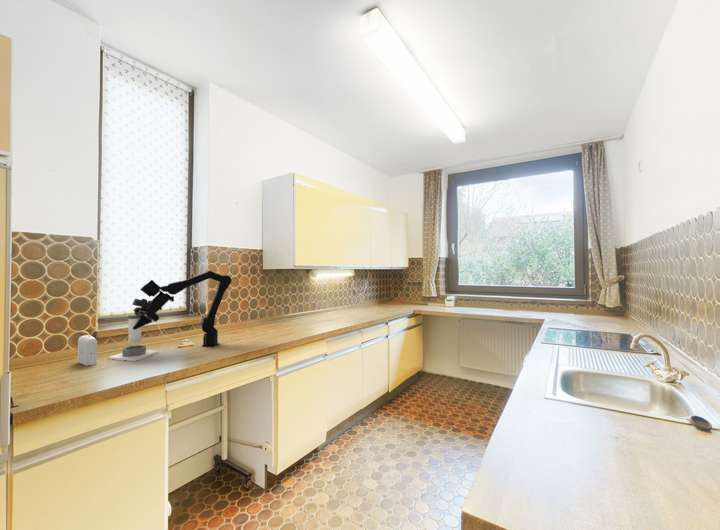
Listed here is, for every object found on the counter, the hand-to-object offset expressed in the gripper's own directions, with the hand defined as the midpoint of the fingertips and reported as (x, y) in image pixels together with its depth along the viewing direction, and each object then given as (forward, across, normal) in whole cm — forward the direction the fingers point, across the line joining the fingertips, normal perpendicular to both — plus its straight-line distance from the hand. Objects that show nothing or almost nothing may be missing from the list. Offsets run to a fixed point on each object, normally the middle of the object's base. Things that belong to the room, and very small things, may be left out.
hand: (131, 328), depth 151 cm
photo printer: (+21, -2, -2) cm, 21 cm away
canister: (+4, 0, +6) cm, 7 cm away
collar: (+9, 0, +10) cm, 13 cm away
